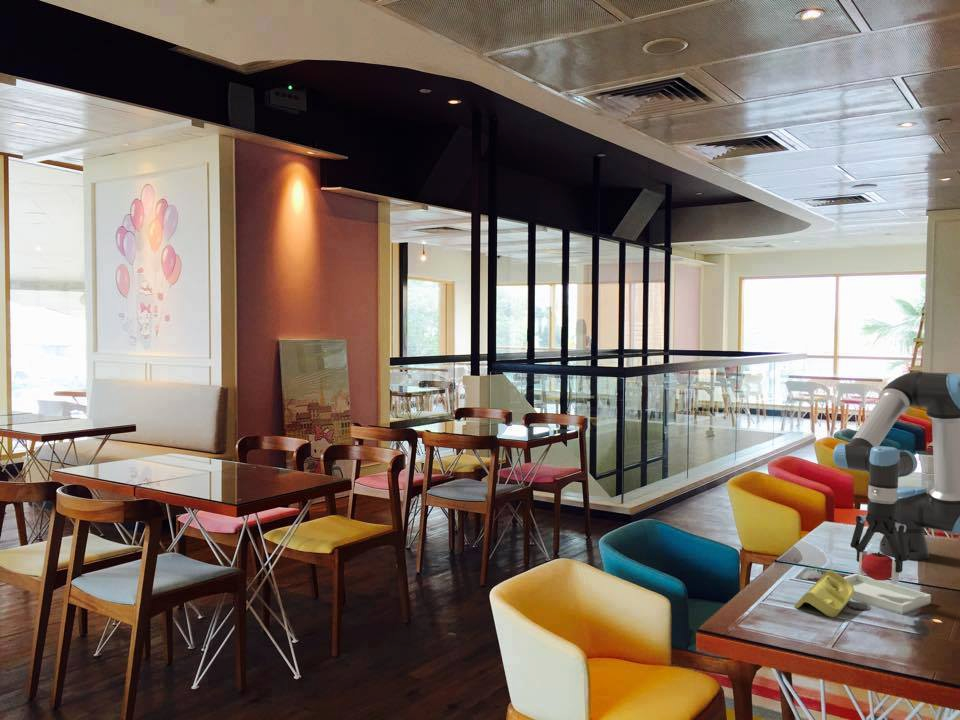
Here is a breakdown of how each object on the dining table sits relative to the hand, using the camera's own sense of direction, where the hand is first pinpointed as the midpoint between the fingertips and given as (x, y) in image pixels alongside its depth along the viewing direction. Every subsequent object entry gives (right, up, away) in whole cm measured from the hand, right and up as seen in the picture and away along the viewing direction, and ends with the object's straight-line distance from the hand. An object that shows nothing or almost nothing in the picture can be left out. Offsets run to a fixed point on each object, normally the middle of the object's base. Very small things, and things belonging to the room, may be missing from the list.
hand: (878, 578), depth 228 cm
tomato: (0, 0, 0) cm, 0 cm away
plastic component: (-18, -6, -7) cm, 20 cm away
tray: (0, -6, 0) cm, 6 cm away
